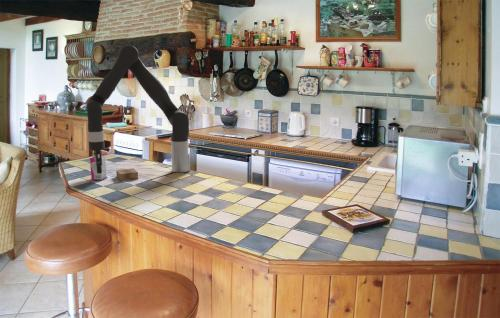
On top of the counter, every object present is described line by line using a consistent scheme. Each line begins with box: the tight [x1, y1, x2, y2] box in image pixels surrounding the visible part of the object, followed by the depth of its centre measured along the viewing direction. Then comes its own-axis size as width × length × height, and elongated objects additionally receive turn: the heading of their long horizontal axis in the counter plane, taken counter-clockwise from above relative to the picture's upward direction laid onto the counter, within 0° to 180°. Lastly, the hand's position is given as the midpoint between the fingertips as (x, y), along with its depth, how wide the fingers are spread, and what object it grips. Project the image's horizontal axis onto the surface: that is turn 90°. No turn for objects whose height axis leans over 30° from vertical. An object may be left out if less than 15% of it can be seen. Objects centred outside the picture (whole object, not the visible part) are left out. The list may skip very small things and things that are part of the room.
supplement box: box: [89, 156, 108, 182], centre depth 209 cm, size 6×6×12 cm
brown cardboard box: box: [115, 168, 139, 182], centre depth 213 cm, size 9×9×4 cm
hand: (98, 171), depth 210 cm, fingers closed on supplement box, 7 cm apart
